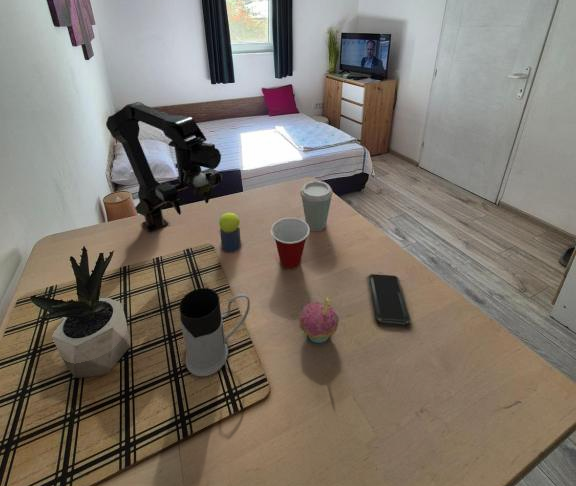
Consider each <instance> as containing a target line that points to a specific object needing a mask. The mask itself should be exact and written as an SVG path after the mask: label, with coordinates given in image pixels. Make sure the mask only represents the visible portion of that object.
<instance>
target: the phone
mask: <svg viewBox="0 0 576 486" xmlns="http://www.w3.org/2000/svg"><path fill="white" fill-rule="evenodd" d="M368 284H369V289H370V295H371V301H372V308H373V313H374V320H375V322H376V323H377V324H379V325H385V326H397V327H408V326H409V325H410V324H411V318H410V314H409V310H408V307H407V303H406V299H405V295H404V294H403V289H402V285H401V282H400V278H399V277H398V276H396V275H391V274H379V273H378V274H377V273H371V274H369V275H368Z"/></svg>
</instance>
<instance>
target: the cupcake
mask: <svg viewBox="0 0 576 486" xmlns="http://www.w3.org/2000/svg"><path fill="white" fill-rule="evenodd" d="M330 300H331V299H330V296H328V297H327V298H326V299H325V302H319V301H314V302H309V303H308V304H306V305H304V307H303V308H302V309H301V311H300V313H299V315H298V316H299V318H298V319H299V327H300V329H301V331H302V332H303V333H304V334H305V335H307V337H308V338H309V340H311V342H313V343H316V344H322V343H325V342H327V340H328V339H329V338H330V337H332V336H334V334H335V333H336V332H337V329H338V325H339V321H340V320H339V315H338V313H337V312H336V311H335V310H334V308H333V307H331V305H330V304H329V303H330Z"/></svg>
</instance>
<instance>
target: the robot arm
mask: <svg viewBox="0 0 576 486" xmlns="http://www.w3.org/2000/svg"><path fill="white" fill-rule="evenodd" d="M140 122H141V123H144V124H147V125H148V126H151V127H152V128H154V129H155V128H156V129H158V130H160V131H162V132H163V134H164V135H165V136H164V137H166V138H168V139H169V140H170V142H169V143H168V146H169V147H172V148H174V154H175V160H176V163H175V164H174V166H175V168H176V169H177V174H178V176H177V177H176V180H177V181H178V182H179V183H176V184H172V183H170V182H165V183H160V182H159V181H158V180H156V179H155V176H154V173H153V171H152V169H151V166H150V164H149V161H148V158H147V157H146V154H145V152H144V149H143V146H142V145H141V142H140V140H139V135H140V129H141V128H140V124H139V123H140ZM105 126H106V129H107V130H108V131H109V133H110V135H111V136H112V138H113V139H114V140H116V141H117V142H119V143H120V144H121V146H122V148H123V150H124V152H125V154H126V157H127V159H128V162H129V164H130V166H131V169H132V171H133V174H134V175H135V178H136V180H137V182H138V183H137V184H138V186H139V187H138V193H137V197H138V200H139V202H138V203H137V204H136V206H135V207H134V210H135V211H136V214H138V215H141V216H143V217H144V221H143V222H141V225H142V226H143V227H144V228H145V229H146V230H147V231H148V232H150V233H151V232H153V231H156V230H158V229H160V228H163V227H165V226H167V225H169V222H168V221H167V220H166V219H164V215H163V209H162V208H164V207H165V206H167V204H168V203H170V204H171V205H172V207H173V208H174V210H175V211H176V213H177V214H178V215H179V216H180V215H182V209H181V205H180V202H179V201H180V197H178V196H179V193H178V192H179V191H182V190H185V189H187V188H189V189H190V190H191V192H192V193H193V194H194V195H195V196H200V195H202V194H203V195H202V196H203V200H204V203H205V204H208V203H209V201H210V198H211V194H212V191H213V189H214V187H216V186H217V185H219V183H220V182H222V181H223V177H222V173H221V172H220V171H219V170H216V169H217V168H218V167H219V165H220V163H221V160H222V153H221V151H220V150H219V149H218V148H216V145H215V144H214V143H211V142H210V143H208V142H206V141H207V138H206V136H205V134H204V133H203V131H202V130H201V129H200V127H199V126H198V124H197V123H196V121H195V119H194V118H193V117H191V116H187V115H182V114H181V115H174V114H168V113H166V112H163V111H161V110H158V109H156V108H153V107H150V106H148V105H146V104H145V103H143V102H140V101H137V102H132V103H128V104H126V105H125V106H124V107H122V108H121V109H120V110H118V111H117V112H115V113H113V114H112V115H109V116H108V117H107V120H106V122H105ZM201 167H202V168H206V169H204V170H202V168H201Z"/></svg>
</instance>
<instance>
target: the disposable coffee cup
mask: <svg viewBox="0 0 576 486" xmlns="http://www.w3.org/2000/svg"><path fill="white" fill-rule="evenodd" d="M299 194H300V197H301V202H302V207H303V215H304V218H305V220H304V221H305V222H306V223H307V224H308V226H309V228H310V230H311V231H314V232H320V231H322V230H324V229H325V228H326V226H327V222H328V218H329V212H330V206H331V201H332V197H333V194H334V192H333V189H332V188H331V185H329V183H327V182H324V181H322V180H312V181H311V180H310V181H307V182H306V183H304V184H303V185H302V187H301V189H300V192H299Z"/></svg>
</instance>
